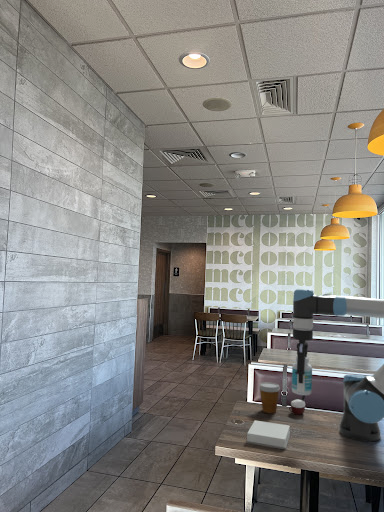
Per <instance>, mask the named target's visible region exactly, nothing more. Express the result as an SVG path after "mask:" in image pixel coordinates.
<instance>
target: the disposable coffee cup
mask: <svg viewBox="0 0 384 512" xmlns="http://www.w3.org/2000/svg"><path fill="white" fill-rule="evenodd" d="M258 388H259V391H260V399H261V400H260V401H261V408H262V412H263V413H265V414H266V413H267V414H275V413H276V412H277V409H278V408H277V407H278V402H279V401H278V400H279V392H280V390H281V388H280V385H279V384H278V383H274V382H267V381H266V382H261V383H260V384H259V386H258Z"/></svg>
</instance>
